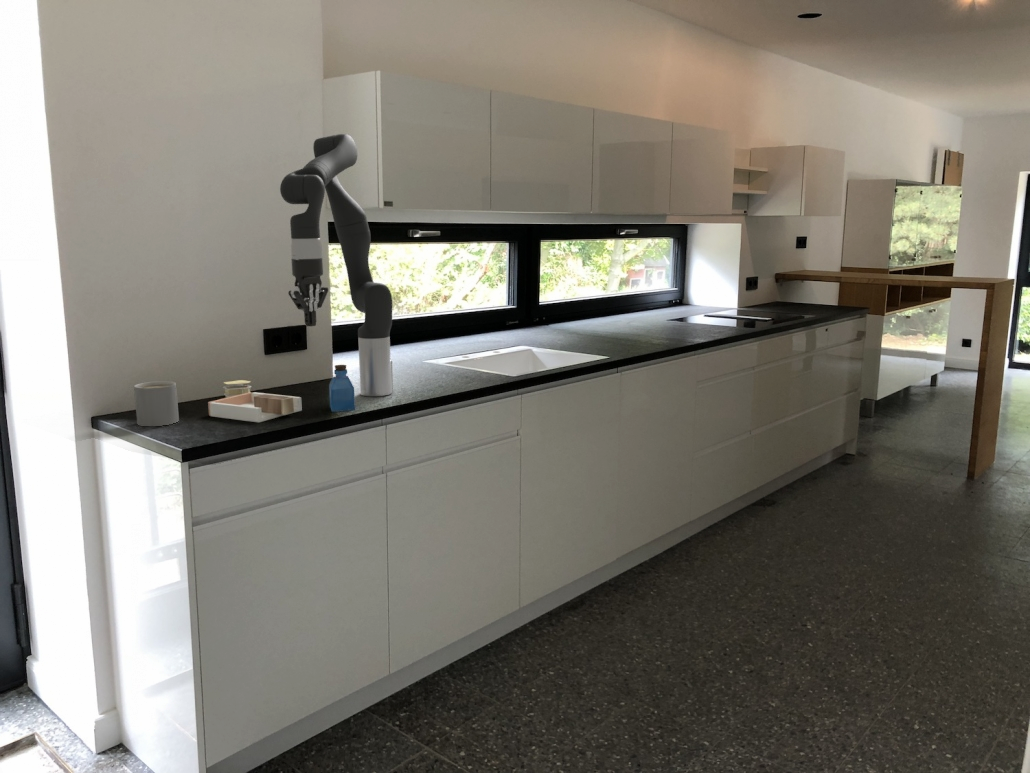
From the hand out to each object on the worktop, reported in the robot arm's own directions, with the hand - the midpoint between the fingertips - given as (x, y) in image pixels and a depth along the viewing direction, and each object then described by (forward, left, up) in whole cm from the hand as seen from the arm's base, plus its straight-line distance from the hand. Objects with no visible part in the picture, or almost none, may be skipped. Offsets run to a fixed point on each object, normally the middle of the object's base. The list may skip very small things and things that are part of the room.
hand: (310, 325), depth 215 cm
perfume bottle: (-15, -3, -25) cm, 29 cm away
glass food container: (-12, -39, -25) cm, 48 cm away
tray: (0, -20, -25) cm, 32 cm away
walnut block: (0, -9, -22) cm, 23 cm away
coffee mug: (+18, -35, -25) cm, 47 cm away
